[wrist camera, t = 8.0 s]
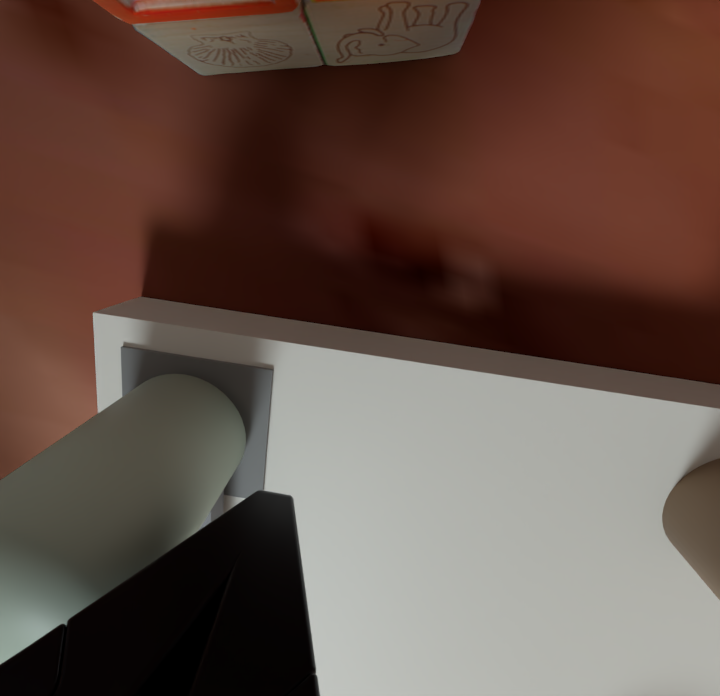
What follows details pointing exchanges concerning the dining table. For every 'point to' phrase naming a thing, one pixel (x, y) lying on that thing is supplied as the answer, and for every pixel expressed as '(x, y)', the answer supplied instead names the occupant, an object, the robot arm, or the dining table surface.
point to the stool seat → (464, 502)
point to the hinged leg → (111, 500)
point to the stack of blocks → (297, 31)
